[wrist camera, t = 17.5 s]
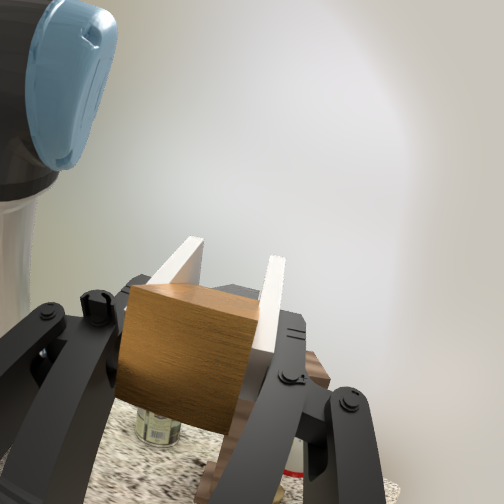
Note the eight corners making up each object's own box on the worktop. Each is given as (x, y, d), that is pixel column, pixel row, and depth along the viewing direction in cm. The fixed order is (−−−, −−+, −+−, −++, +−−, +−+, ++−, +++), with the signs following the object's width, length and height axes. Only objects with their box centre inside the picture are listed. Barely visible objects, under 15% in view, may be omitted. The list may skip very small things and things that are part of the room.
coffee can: (166, 421, 59) (175, 374, 61) (186, 445, 52) (197, 395, 53) (128, 423, 53) (134, 372, 54) (144, 449, 45) (151, 396, 46)
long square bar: (228, 435, 7) (258, 320, 7) (114, 397, 7) (131, 285, 7) (254, 318, 30) (262, 287, 31) (224, 310, 31) (231, 280, 31)
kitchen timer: (253, 457, 52) (269, 405, 54) (285, 440, 63) (301, 393, 64) (303, 485, 43) (327, 431, 45) (330, 461, 54) (351, 412, 55)
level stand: (282, 524, 31) (344, 381, 33) (183, 504, 32) (215, 354, 34) (279, 477, 45) (323, 353, 48) (200, 461, 47) (230, 333, 49)
